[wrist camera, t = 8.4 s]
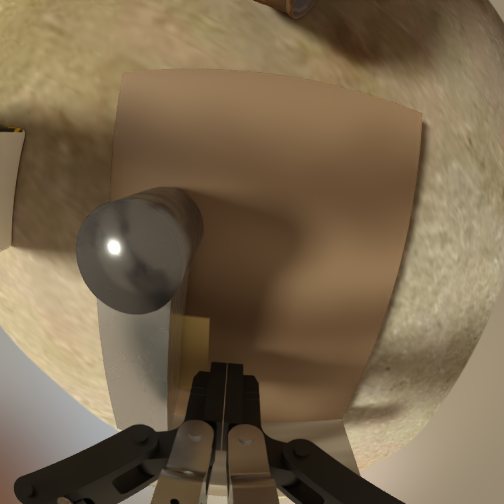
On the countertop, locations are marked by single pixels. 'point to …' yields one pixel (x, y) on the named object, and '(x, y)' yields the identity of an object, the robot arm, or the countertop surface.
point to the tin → (290, 6)
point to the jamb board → (277, 231)
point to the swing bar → (141, 297)
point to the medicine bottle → (8, 178)
